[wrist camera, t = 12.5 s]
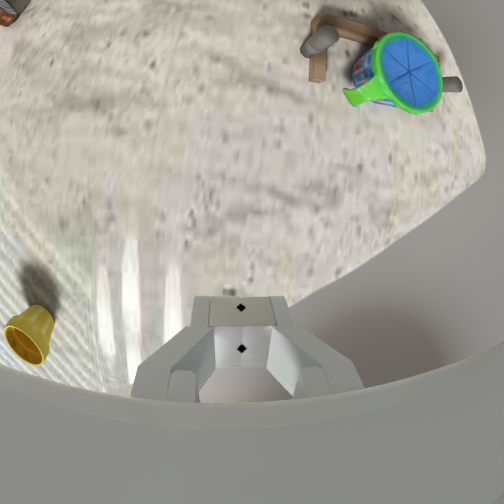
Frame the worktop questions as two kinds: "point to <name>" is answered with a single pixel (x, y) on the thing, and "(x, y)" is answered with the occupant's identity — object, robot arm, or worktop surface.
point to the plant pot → (30, 334)
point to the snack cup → (397, 75)
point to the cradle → (333, 27)
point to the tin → (6, 13)
